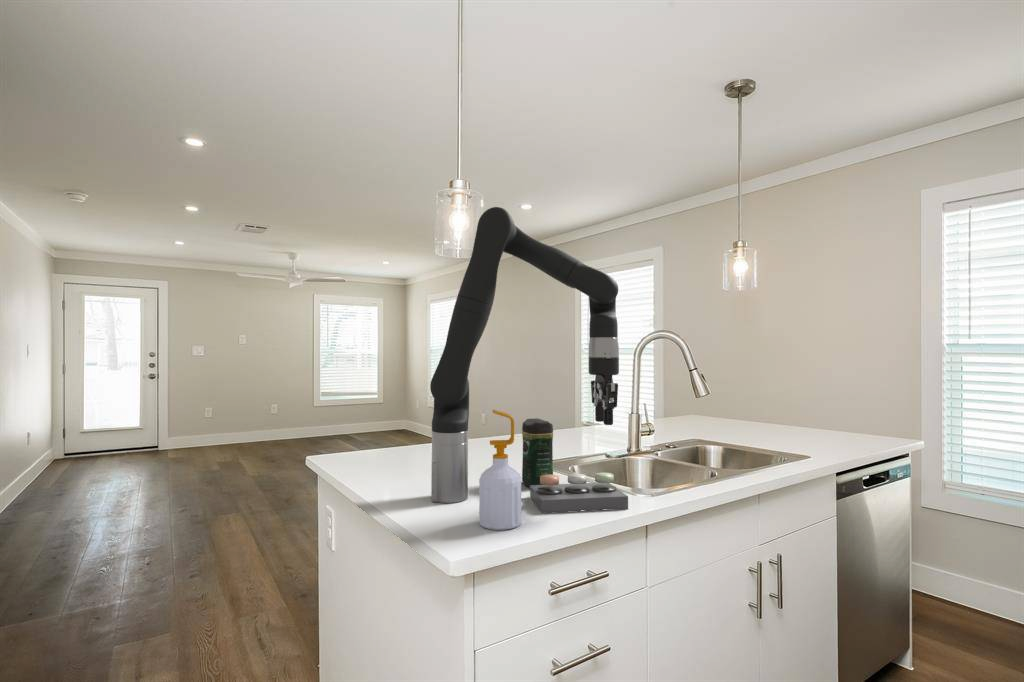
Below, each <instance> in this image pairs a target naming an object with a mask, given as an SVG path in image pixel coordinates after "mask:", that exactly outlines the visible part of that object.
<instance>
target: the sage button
mask: <svg viewBox="0 0 1024 682" xmlns="http://www.w3.org/2000/svg"><path fill="white" fill-rule="evenodd" d="M614 479H615V478H614V474H613V473H611V472H597V473H596V472H595V473H594V481H595V483H610V484H612V483H614Z"/></svg>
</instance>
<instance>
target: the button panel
mask: <svg viewBox="0 0 1024 682" xmlns="http://www.w3.org/2000/svg"><path fill="white" fill-rule="evenodd" d="M529 497H530V499H531V500H532V502H533V503H534V504H535V506H536V508H537V509H538V510H539V512H540V513H541V514H551V513H552V512H558V513H569V512H568V511H578V512H582V511H581V510H598V511H604V510H603V509H619V510H628V509H629V496H628V495H627V494H626V493H624V492H623V491H621V490H620V489H618V488H617V487H616V486H615V485H613V484H612V483H598V482H586V483H585V484H571V483H559V484H558V485H551V486H549V485H530V487H529ZM552 514H553V513H552Z"/></svg>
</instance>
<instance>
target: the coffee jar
mask: <svg viewBox="0 0 1024 682" xmlns="http://www.w3.org/2000/svg"><path fill="white" fill-rule="evenodd" d="M521 434H522V461H521V462H522V463H521V464H522V466H521V468H522V469H521V472H522V473H521V483H523V485H525V486H526V487H529V488H530V485H542V484H540V476H541V475H554V467H553V465H554V462H553V461H554V459H553V457H554V456H553V453H554V452H553V450H554V449H553V446H554V445H553V442H554V441H553V439H554V426H553V423H551V422H549V421H547V420H544V419H540V418H536V417H535V418H527V419H526V420H524V421H523V422H522V428H521Z"/></svg>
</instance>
